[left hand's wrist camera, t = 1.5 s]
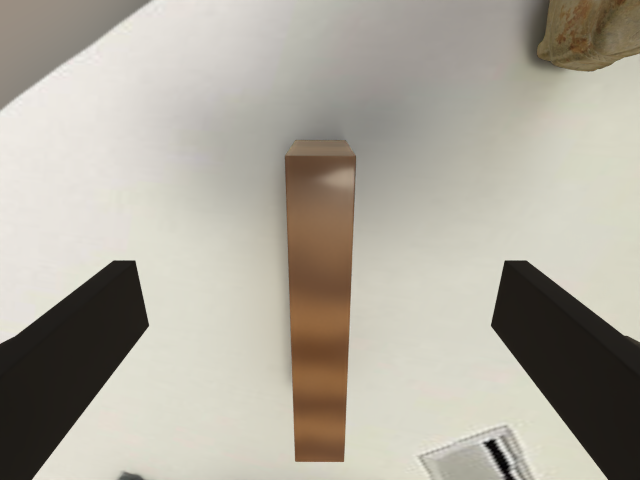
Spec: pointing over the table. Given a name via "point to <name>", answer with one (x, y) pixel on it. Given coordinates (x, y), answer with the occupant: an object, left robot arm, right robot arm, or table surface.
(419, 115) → the table surface
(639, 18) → the sculpture
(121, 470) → the table surface
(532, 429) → the table surface
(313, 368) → the bar
